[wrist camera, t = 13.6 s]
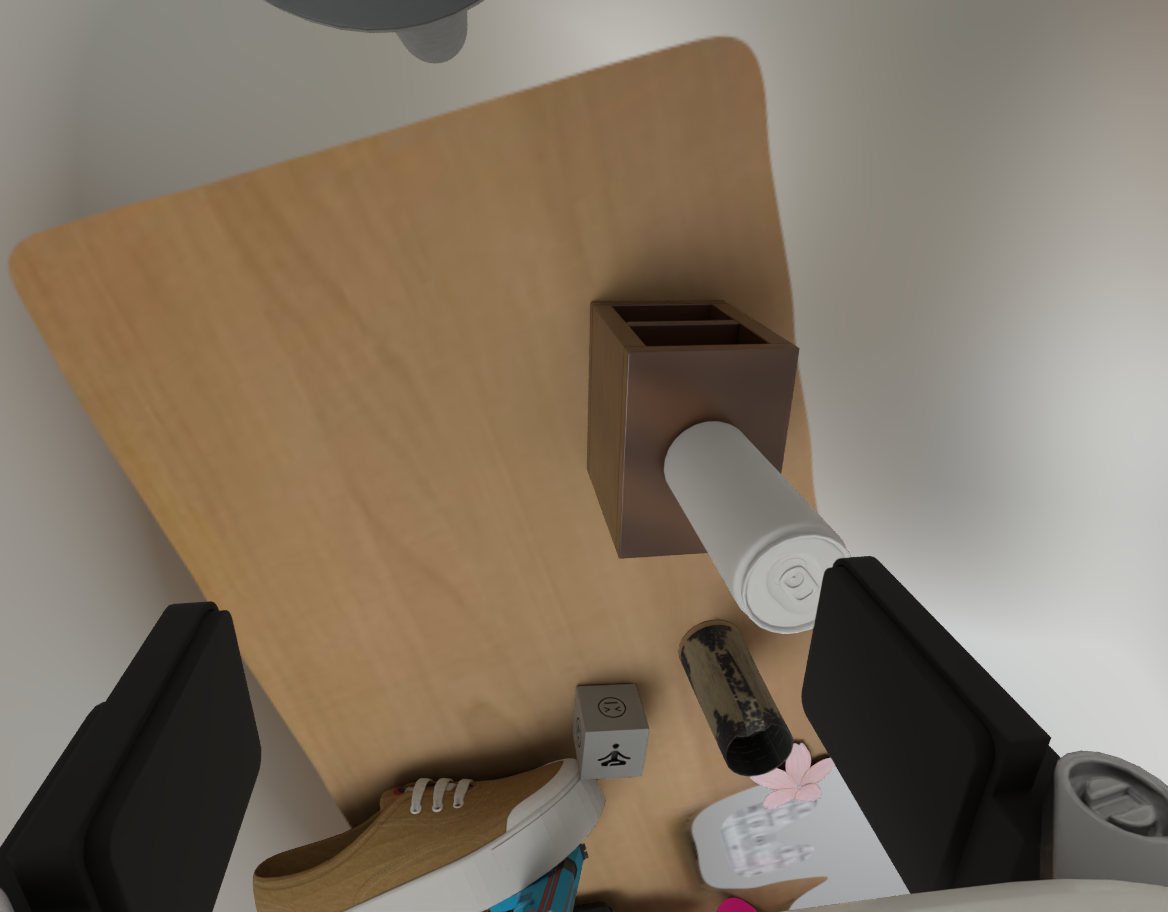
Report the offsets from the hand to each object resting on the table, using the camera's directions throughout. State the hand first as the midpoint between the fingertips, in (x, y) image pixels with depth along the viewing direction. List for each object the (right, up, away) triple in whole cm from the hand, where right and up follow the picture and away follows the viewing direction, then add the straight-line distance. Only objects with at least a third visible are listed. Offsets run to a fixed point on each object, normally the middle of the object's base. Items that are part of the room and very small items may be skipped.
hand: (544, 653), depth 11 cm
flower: (+20, -28, +54) cm, 64 cm away
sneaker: (-10, -33, +46) cm, 57 cm away
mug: (+11, -12, +48) cm, 50 cm away
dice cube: (+2, -18, +49) cm, 52 cm away
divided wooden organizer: (+5, +8, +38) cm, 39 cm away
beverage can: (+7, +3, +27) cm, 28 cm away
